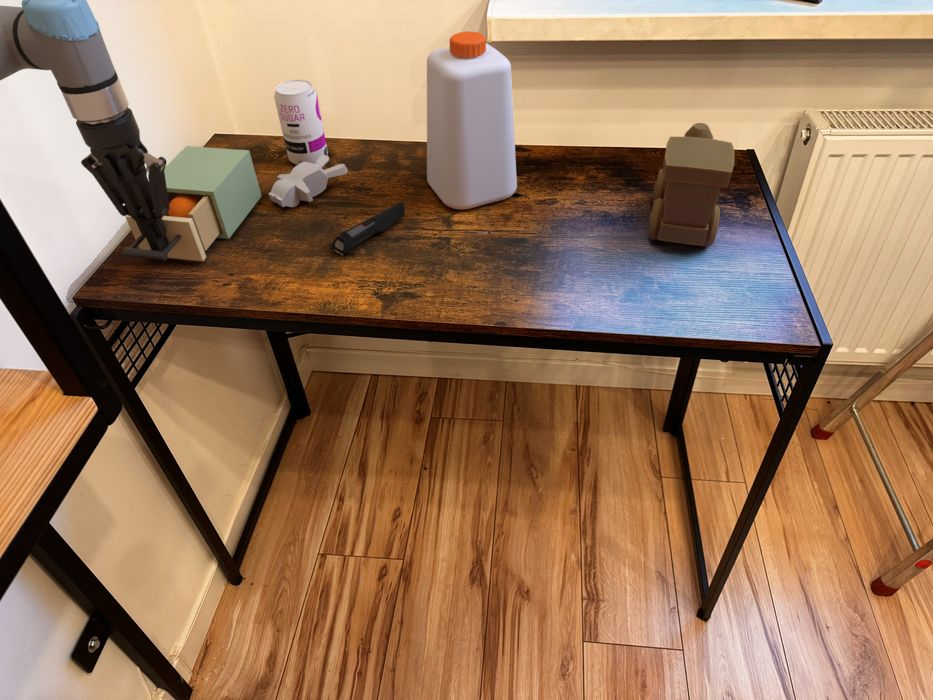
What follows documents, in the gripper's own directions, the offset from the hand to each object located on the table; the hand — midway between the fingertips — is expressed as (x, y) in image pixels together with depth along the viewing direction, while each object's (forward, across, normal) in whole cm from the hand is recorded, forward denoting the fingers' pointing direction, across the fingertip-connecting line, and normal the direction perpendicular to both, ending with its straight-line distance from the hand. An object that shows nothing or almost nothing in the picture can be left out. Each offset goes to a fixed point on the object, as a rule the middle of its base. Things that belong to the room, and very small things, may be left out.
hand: (162, 250), depth 110 cm
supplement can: (+4, -10, -40) cm, 42 cm away
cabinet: (+4, 0, -17) cm, 18 cm away
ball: (-1, 0, -10) cm, 10 cm away
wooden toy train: (+5, -85, -27) cm, 89 cm away
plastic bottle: (+5, -46, -33) cm, 57 cm away
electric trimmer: (+4, -31, -15) cm, 35 cm away
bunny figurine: (+4, -15, -27) cm, 31 cm away
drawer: (+3, 0, -6) cm, 6 cm away
